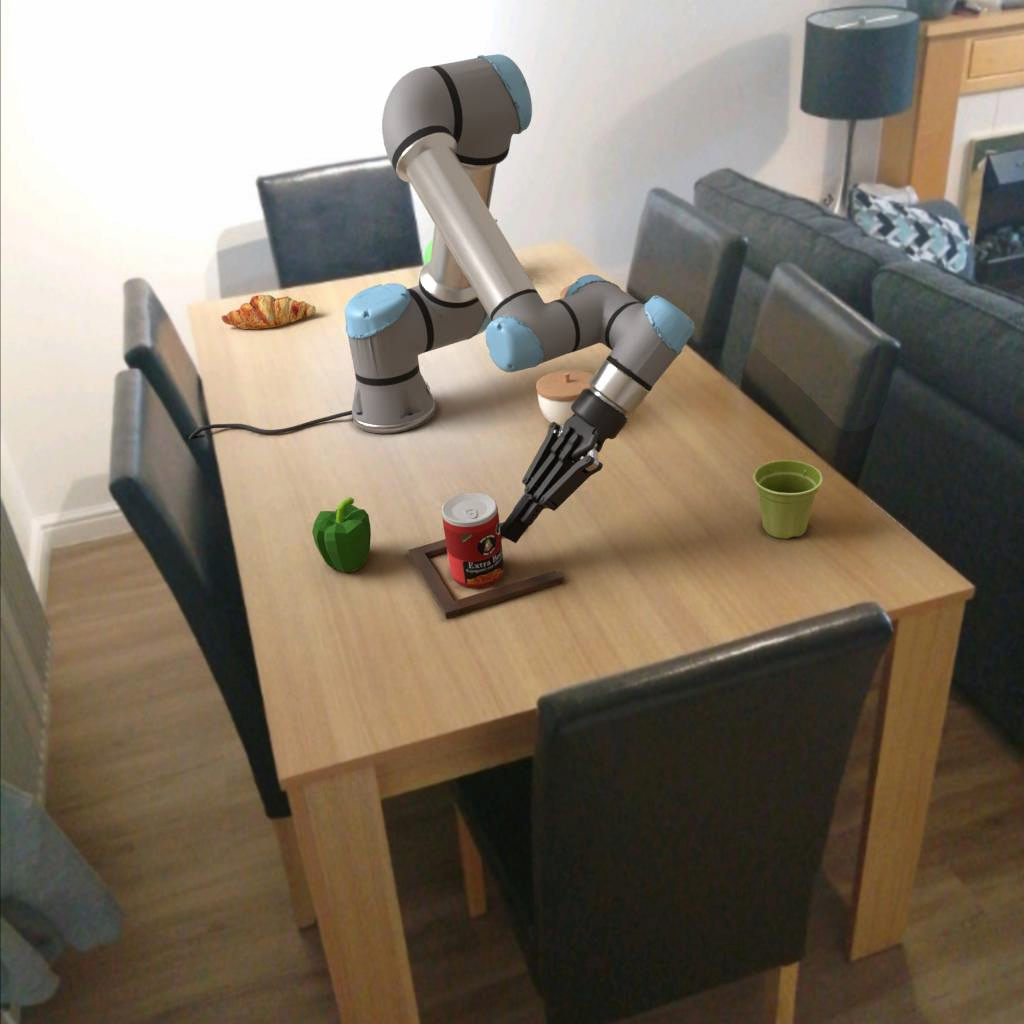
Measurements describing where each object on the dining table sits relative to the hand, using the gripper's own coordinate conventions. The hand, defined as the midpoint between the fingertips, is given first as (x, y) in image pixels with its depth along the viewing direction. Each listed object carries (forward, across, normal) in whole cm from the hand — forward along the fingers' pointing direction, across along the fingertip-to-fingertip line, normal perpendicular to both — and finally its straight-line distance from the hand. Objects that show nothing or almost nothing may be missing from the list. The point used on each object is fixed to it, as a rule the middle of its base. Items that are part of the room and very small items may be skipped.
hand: (507, 536), depth 146 cm
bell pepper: (+18, +11, +12) cm, 24 cm away
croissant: (+11, +116, +6) cm, 116 cm away
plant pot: (-24, -12, -30) cm, 40 cm away
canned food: (+7, 0, 0) cm, 7 cm away
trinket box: (-15, +35, -21) cm, 43 cm away
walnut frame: (+5, 0, -1) cm, 5 cm away
